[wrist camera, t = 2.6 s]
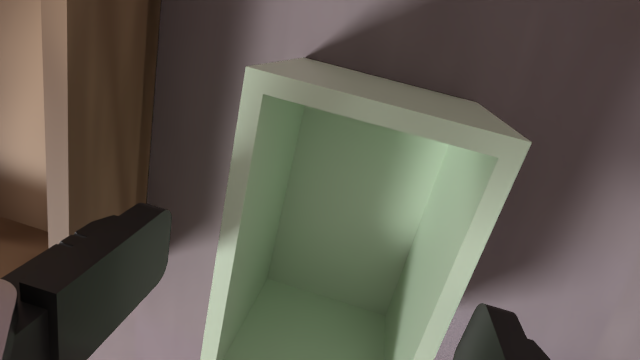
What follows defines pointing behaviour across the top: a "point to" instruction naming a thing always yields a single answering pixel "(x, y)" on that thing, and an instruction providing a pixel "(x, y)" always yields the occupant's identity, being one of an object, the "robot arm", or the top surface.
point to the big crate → (72, 117)
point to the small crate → (352, 215)
